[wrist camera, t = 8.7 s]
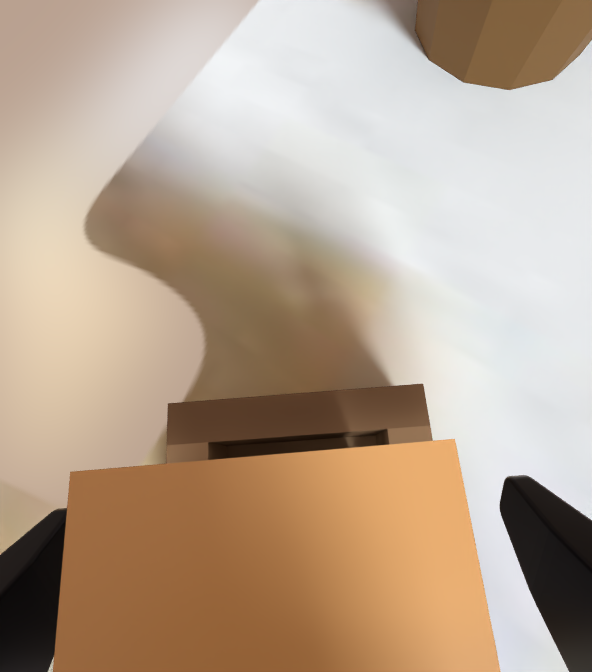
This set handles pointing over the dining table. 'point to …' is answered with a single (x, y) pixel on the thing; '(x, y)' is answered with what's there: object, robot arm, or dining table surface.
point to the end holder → (296, 423)
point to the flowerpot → (504, 38)
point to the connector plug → (275, 566)
